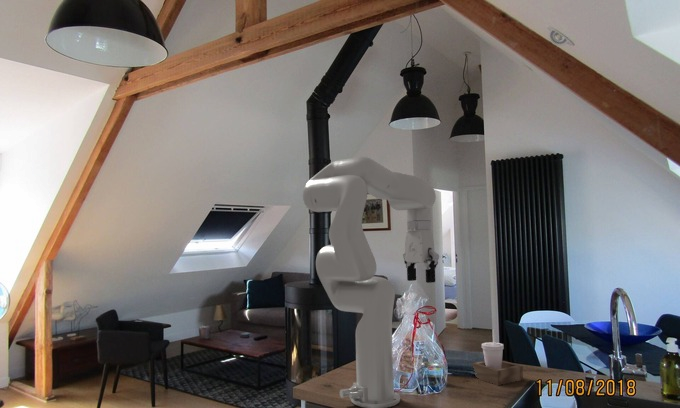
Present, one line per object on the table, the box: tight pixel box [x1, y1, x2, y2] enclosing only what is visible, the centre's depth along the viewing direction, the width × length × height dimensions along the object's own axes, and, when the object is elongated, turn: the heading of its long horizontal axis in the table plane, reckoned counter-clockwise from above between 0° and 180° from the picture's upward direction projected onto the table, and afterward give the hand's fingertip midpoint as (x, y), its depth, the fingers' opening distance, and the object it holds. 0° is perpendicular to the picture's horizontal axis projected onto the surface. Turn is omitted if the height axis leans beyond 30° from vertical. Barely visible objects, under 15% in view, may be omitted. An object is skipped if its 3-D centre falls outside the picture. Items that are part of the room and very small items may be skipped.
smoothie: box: [481, 328, 505, 369], centre depth 140 cm, size 6×6×14 cm
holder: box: [471, 360, 524, 386], centre depth 138 cm, size 10×10×4 cm
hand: (421, 281), depth 147 cm, fingers open, 9 cm apart
